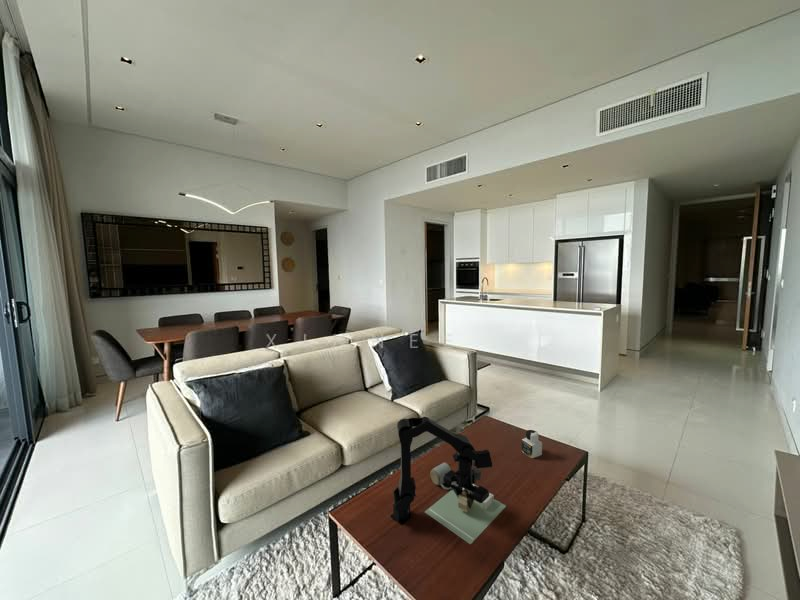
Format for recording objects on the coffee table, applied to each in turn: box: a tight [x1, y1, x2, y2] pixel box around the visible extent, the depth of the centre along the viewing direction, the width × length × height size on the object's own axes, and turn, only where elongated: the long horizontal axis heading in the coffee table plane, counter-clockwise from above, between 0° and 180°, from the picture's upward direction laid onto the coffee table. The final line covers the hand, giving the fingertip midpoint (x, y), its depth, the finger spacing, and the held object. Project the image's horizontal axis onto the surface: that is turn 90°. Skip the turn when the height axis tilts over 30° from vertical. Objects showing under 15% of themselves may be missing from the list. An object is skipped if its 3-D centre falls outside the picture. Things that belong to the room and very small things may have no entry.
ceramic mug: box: [429, 462, 452, 491], centre depth 150 cm, size 11×8×8 cm
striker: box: [458, 489, 472, 512], centre depth 133 cm, size 4×4×8 cm
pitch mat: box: [424, 489, 507, 545], centre depth 134 cm, size 26×22×1 cm
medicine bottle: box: [521, 429, 543, 459], centre depth 171 cm, size 7×7×12 cm
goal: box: [463, 484, 495, 510], centre depth 140 cm, size 6×12×3 cm, turn 44°
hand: (465, 504), depth 133 cm, fingers closed on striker, 4 cm apart
